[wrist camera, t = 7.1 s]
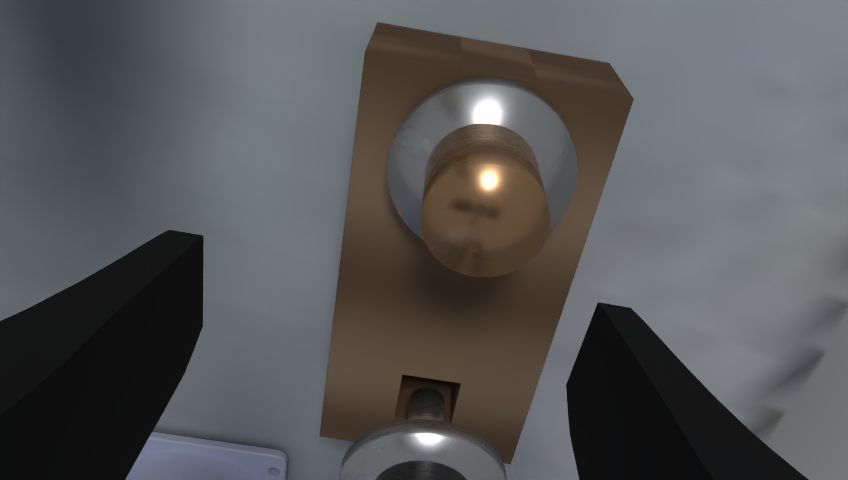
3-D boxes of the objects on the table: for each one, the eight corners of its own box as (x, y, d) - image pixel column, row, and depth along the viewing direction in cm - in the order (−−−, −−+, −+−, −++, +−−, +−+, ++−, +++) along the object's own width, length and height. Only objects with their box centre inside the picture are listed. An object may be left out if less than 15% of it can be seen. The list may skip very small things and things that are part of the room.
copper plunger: (535, 205, 23) (561, 324, 17) (388, 180, 22) (365, 293, 17) (577, 58, 20) (623, 142, 14) (411, 29, 20) (393, 103, 14)
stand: (504, 400, 27) (510, 464, 25) (333, 375, 27) (319, 436, 24) (609, 63, 20) (633, 98, 17) (377, 22, 20) (365, 52, 17)
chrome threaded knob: (483, 460, 24) (491, 640, 19) (347, 440, 24) (315, 616, 19) (515, 356, 22) (535, 529, 16) (363, 333, 22) (331, 501, 16)
